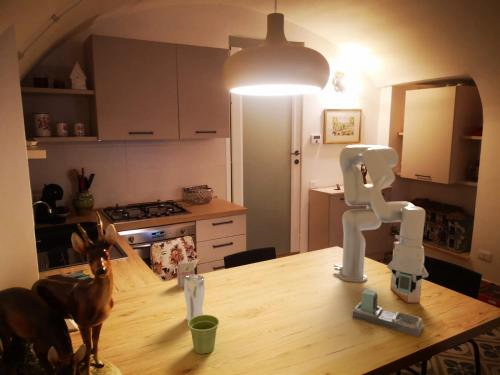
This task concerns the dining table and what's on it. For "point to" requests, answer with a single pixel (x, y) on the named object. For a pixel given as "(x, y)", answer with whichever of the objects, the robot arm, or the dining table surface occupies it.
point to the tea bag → (184, 272)
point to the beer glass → (194, 295)
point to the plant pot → (203, 332)
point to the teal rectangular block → (369, 300)
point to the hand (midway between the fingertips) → (405, 288)
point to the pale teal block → (405, 283)
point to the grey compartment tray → (390, 320)
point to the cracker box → (411, 298)
